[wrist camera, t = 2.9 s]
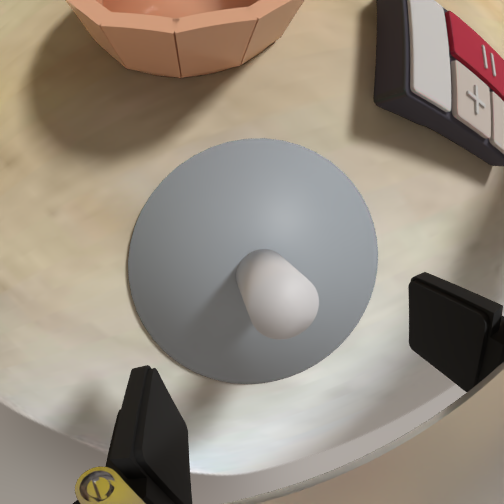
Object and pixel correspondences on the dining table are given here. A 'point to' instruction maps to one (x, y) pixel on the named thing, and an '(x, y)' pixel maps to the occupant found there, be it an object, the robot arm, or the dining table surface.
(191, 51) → the bowl
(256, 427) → the dining table surface
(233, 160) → the lid
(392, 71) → the calculator
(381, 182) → the dining table surface
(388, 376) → the dining table surface
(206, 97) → the dining table surface
